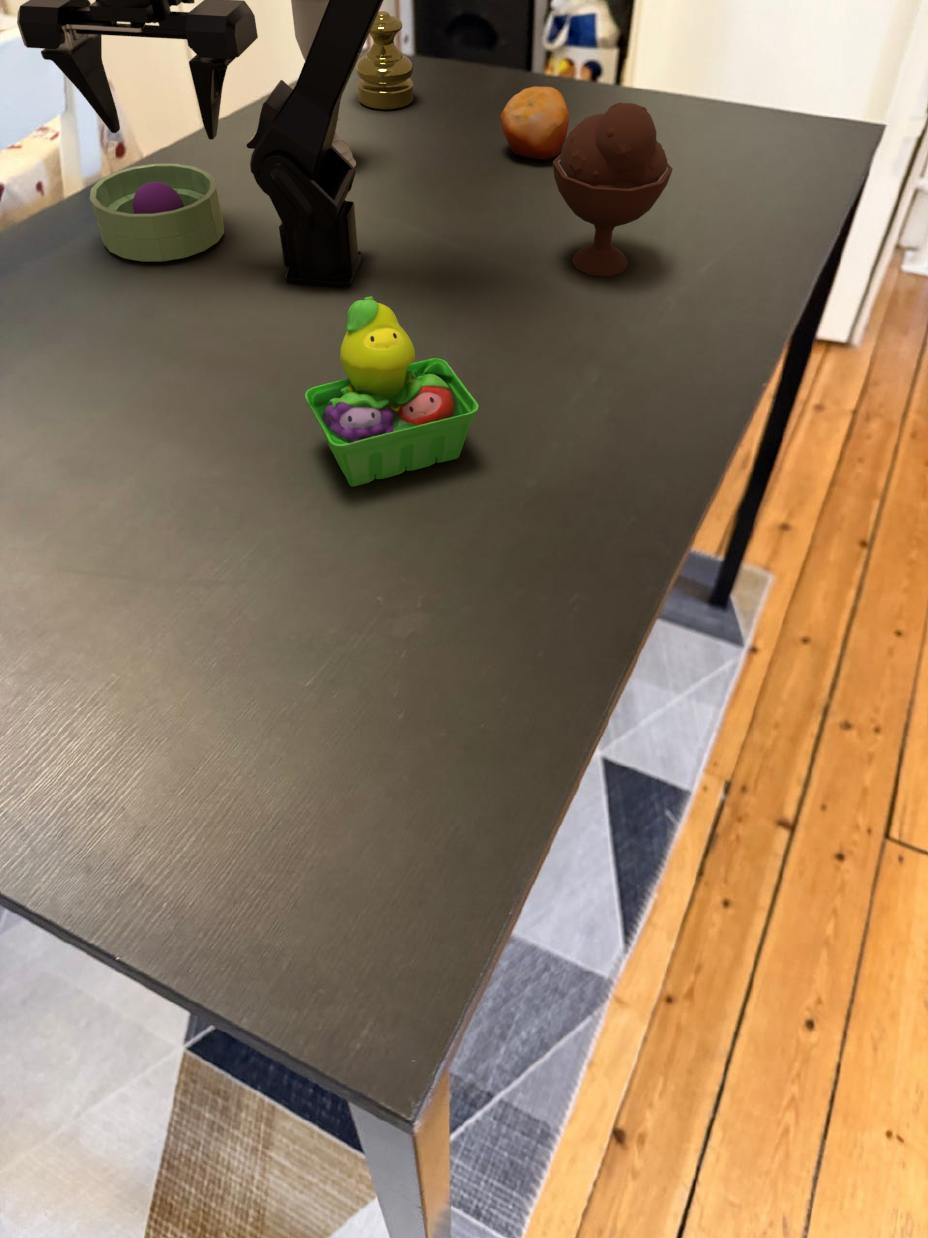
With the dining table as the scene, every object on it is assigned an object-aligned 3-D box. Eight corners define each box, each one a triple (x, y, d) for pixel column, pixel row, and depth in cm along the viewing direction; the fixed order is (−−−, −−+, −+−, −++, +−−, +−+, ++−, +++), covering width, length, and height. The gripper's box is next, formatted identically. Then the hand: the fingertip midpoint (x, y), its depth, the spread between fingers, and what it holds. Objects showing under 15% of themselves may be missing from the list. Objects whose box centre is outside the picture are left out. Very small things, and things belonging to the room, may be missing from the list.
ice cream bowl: (666, 249, 92) (696, 89, 80) (633, 299, 85) (660, 132, 74) (569, 228, 95) (585, 70, 83) (530, 275, 88) (542, 110, 77)
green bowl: (240, 215, 96) (231, 167, 92) (202, 271, 88) (191, 220, 84) (132, 207, 97) (119, 159, 93) (84, 261, 89) (68, 211, 85)
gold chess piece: (352, 108, 116) (345, 19, 109) (365, 88, 121) (360, 2, 114) (407, 112, 116) (404, 23, 108) (418, 92, 121) (416, 5, 113)
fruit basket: (340, 503, 65) (323, 369, 57) (305, 434, 71) (285, 303, 62) (481, 464, 68) (485, 332, 60) (437, 402, 74) (435, 272, 65)
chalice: (353, 179, 102) (339, -7, 89) (297, 173, 103) (274, -12, 89) (370, 154, 107) (359, -27, 93) (316, 148, 108) (297, -31, 94)
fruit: (587, 131, 108) (577, 79, 101) (557, 185, 108) (545, 136, 100) (529, 117, 111) (516, 65, 104) (500, 170, 110) (484, 121, 103)
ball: (195, 224, 93) (185, 175, 90) (179, 246, 90) (168, 196, 86) (150, 220, 94) (138, 171, 90) (131, 242, 90) (118, 192, 87)
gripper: (261, -100, 73) (289, 108, 85) (48, -108, 75) (104, 96, 87) (214, -68, 66) (252, 154, 77) (-20, -78, 68) (51, 141, 79)
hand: (164, 134), depth 80 cm, fingers open, 9 cm apart
